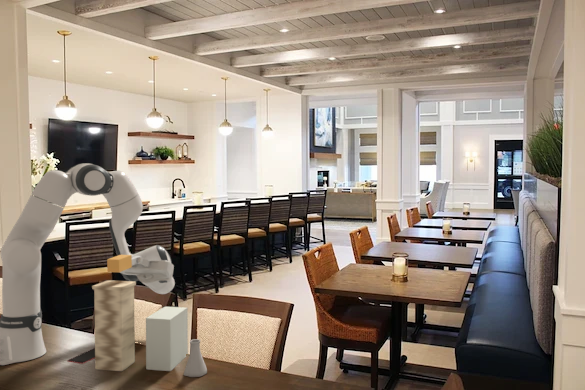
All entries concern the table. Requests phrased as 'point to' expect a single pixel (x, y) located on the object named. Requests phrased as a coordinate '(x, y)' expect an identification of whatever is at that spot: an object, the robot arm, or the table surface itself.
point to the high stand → (114, 325)
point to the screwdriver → (121, 263)
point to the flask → (195, 361)
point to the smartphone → (83, 357)
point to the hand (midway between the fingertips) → (133, 259)
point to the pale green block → (166, 338)
